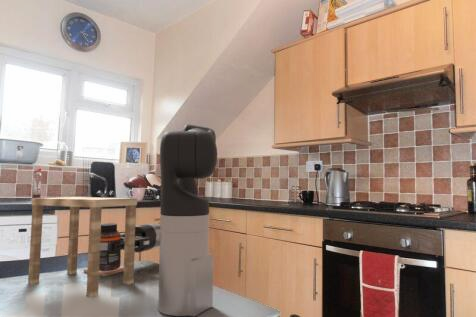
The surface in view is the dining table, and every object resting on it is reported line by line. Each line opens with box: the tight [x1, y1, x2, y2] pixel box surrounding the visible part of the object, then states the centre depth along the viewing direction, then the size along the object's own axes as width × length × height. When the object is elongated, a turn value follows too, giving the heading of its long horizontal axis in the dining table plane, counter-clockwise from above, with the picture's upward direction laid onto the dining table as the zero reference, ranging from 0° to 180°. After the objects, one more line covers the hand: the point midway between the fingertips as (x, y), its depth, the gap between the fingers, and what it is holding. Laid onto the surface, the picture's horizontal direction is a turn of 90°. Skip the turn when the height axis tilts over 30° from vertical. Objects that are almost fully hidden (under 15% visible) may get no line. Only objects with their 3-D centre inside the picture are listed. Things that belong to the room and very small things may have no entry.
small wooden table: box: [27, 196, 138, 298], centre depth 79 cm, size 22×12×20 cm, turn 63°
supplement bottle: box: [99, 222, 122, 271], centre depth 86 cm, size 6×6×11 cm
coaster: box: [83, 264, 124, 277], centre depth 90 cm, size 8×8×1 cm
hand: (101, 246), depth 84 cm, fingers closed on supplement bottle, 6 cm apart
